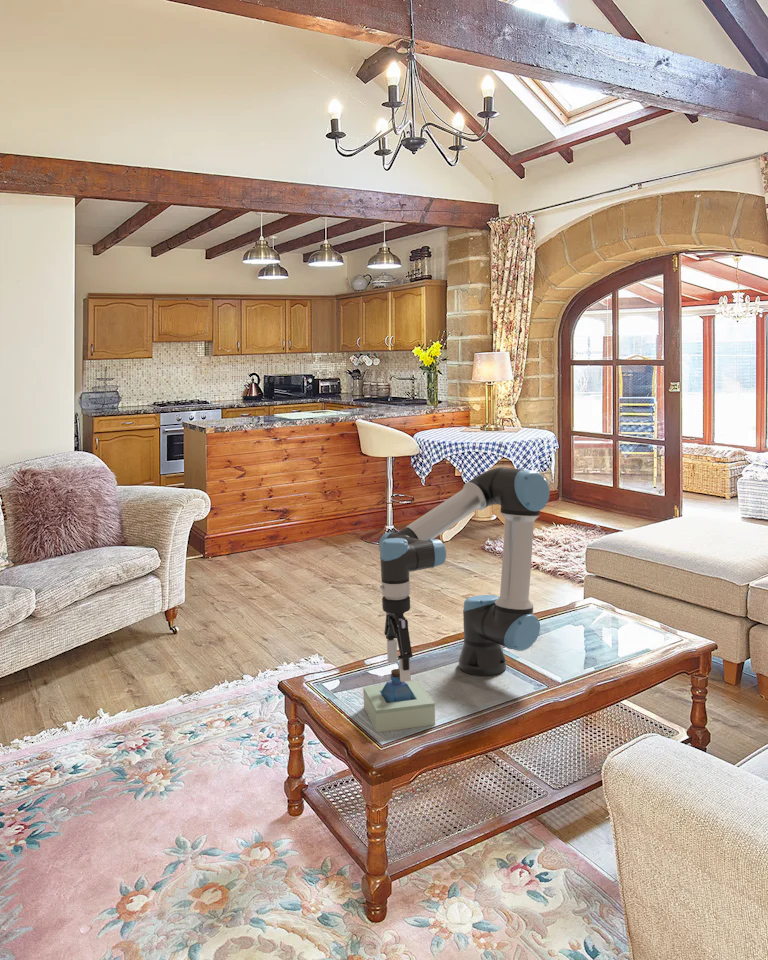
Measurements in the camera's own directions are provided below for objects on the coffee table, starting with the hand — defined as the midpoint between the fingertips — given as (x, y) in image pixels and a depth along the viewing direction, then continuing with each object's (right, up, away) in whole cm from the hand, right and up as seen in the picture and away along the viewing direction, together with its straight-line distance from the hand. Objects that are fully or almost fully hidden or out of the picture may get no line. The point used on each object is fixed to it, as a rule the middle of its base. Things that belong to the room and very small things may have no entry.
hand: (398, 671), depth 206 cm
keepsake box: (0, -13, +1) cm, 13 cm away
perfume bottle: (0, -12, +1) cm, 12 cm away
